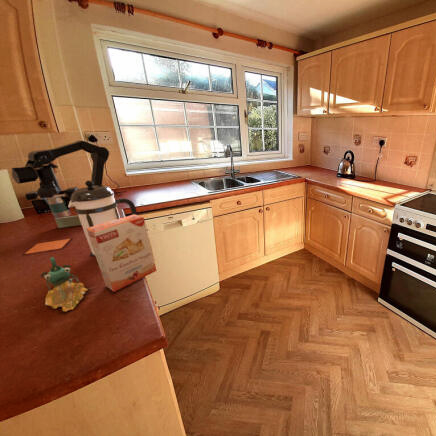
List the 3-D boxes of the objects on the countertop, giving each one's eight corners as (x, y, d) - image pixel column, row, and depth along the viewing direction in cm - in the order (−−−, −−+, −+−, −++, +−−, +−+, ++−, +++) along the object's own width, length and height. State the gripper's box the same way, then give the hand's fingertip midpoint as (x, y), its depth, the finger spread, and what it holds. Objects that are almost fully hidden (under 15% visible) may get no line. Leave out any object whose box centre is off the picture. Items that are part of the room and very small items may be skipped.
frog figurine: (84, 277, 84) (70, 240, 77) (93, 307, 72) (78, 267, 66) (46, 289, 78) (28, 250, 71) (49, 325, 66) (27, 282, 60)
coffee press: (123, 261, 93) (99, 184, 82) (79, 264, 92) (48, 186, 81) (145, 241, 109) (127, 174, 98) (108, 242, 108) (86, 175, 97)
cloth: (70, 239, 112) (70, 238, 112) (61, 248, 103) (61, 248, 103) (36, 244, 108) (36, 243, 108) (24, 254, 99) (24, 254, 99)
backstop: (88, 223, 130) (84, 214, 128) (87, 224, 129) (83, 215, 127) (59, 226, 126) (56, 217, 124) (58, 228, 124) (54, 219, 123)
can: (73, 212, 124) (66, 194, 121) (68, 217, 119) (60, 197, 115) (57, 214, 122) (49, 195, 118) (51, 219, 116) (43, 199, 113)
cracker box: (114, 293, 75) (93, 232, 68) (105, 287, 78) (84, 227, 71) (158, 271, 86) (144, 216, 79) (148, 266, 89) (134, 213, 82)
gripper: (11, 185, 103) (26, 219, 109) (66, 180, 110) (78, 212, 116) (25, 179, 113) (39, 211, 118) (75, 175, 119) (85, 205, 125)
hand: (60, 210), depth 119 cm, fingers closed on can, 6 cm apart
